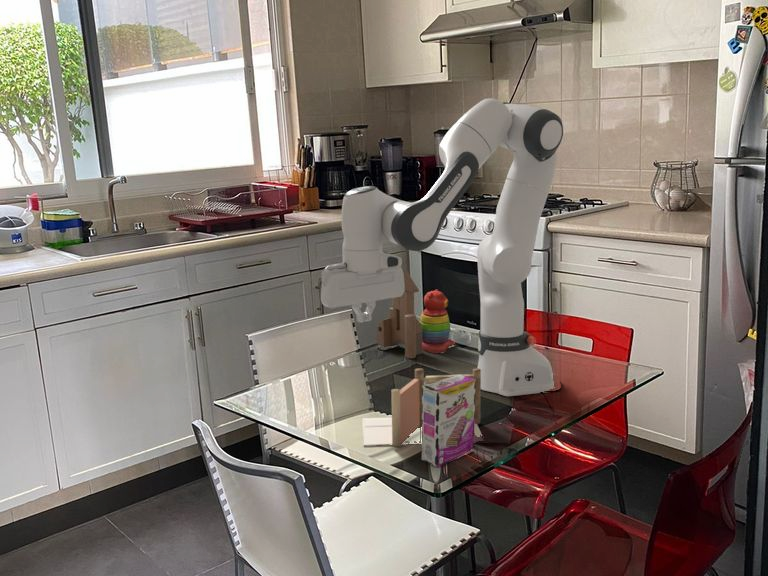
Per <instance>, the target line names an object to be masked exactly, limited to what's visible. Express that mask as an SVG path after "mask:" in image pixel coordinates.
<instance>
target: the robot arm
mask: <svg viewBox="0 0 768 576" xmlns="http://www.w3.org/2000/svg"><path fill="white" fill-rule="evenodd" d="M563 136H564V125H563V121H562V118H561V117H560V116H559V115H558V114H556V113H555V112H553V111H551V110H549V109H546V108H545V109H544V108H540V107H537V106H533V105H529V104H525V103H524V104H519V103H511V102H508V101H507V102H505V101H504V102H503V101H500V100H499V99H496V98H491V97H489V98H485V99H482V100H481V101H479V102H477V103H476V104H475V105H473V106H472V107H471V108H470V109H469V110H468V111H466V112H465V113H464V114H463V115H462V116H461V117H460V118H459V119H458V120H457V121H456V122H455V123H454V124H453V125H452V126H451V127H450V128H449V130H448V131H447V132H446V133H445V135H443V137H442V139H441V141H440V142H439V144H438V145H439V146H438V154H439V158H440V162H441V163H442V165H443V166H444V170H443V173H442V174H441V175H440V177H438V179H437V180H436V182H435V183H434V184H433V186H431V188H430V190H429V191H428V192H427V193H426V195H424V197H422V198H421V199H420V200H417V201H413V202H411V201H405V200H402V199H398V198H396V197H393V196H391V195H388V194H387V193H385V192H383V191H381V190H379V188H378V187H377V186H373V185H369V186H360V187H355V188H352V189H351V190H350V189H349V191H347V192H345V194H344V196H343V199H342V203H341V204H342V205H341V230H342V234H343V241H342V246H341V247H342V249H341V250H342V263H337V264H329V265H327V266H326V267H325V268H323V269H322V271H321V274H320V276H321V277H320V278H321V279H320V280H321V288H320V289H321V290H320V302H321V304H322V305H323V306H324V307H327V308H329V309H334V308H338V307H339V308H341V307H346V306H351V308H352V310H353V311H354V312H355V315H356V316H355V317H356V322H357V323H364V322H365V323H366V322H371V321H372V314H373V312H374V310H375V307H376V302H377V301H382V300H388V299H389V300H390V299H392V298H395V297H401V296H402V295H403V293H404V274H403V270H402V269H403V268H402V267H401V266H402V264H403V260H402V257H400V256H399V255H398V256H397V255H395V254H391V253H388V252H386V251H383V243H385V242H391V243H392V244H396V245H399V246H401V247H402V248H404V249H406V250H409V251H412V252H420V251H424V250H426V249H427V248H430V247H431V246H432V245H433V244H434V243H435V242H436V240H437V238H438V236H439V234H440V231H441V229H442V226H443V224H444V222H445V220H446V218H447V217H448V215H449V214H450V212H451V211H452V209H453V208H455V206H456V205H457V203H458V202H459V200H460V199H461V198H462V197H463V195H464V194H465V193H466V191H467V190H468V189H469V187H470V186H471V185H472V183H473V182H474V180H475V178H477V177H476V176H477V175H478V173H479V170H480V169H481V168H482V167H483V165H484V164H485V163H486V162H487V160H488V159H489V158H490V157H491V156H492V155H493V153H495V151H496V150H497V149H498V147H501V148H503V149H506V150H509V151H513V161H512V163H511V165H510V167H509V170H508V172H507V176H506V179H505V182H504V185H503V188H502V190H501V194H500V196H499V199H498V202H497V206H496V210H495V220H494V225H493V231H492V234H489V235H487V236H486V237H484V238H483V239H482V240H481V241H480V242H479V244H478V247H477V251H476V252H477V253H476V255H477V258H476V260H477V271H478V272H477V275H478V289H479V299H480V327H479V328H480V329H479V330H478V337H477V342H478V343H477V350H478V351H477V352H478V362H477V368H478V369H481V391H485V392H489V393H490V392H491V393H494V394H498V395H502V396H505V397H514V396H515V397H516V396H523V395H524V396H525V395H532V394H541V393H540V392H543V393H545V392H544V391H548V390H550V389H553V388H555V387H554V381H553V374H554V373H553V369H552V364H551V362H550V360H549V359H548V358H547V357H546V356H545V355H543V354H542V353H541V352H539V351H538V350H537V349H535V348H534V347H533V346H534V345H535V344H537V339H536V338H535V337H534V336H533V335H531V334H530V333H528V332H527V331H526V330H525V331H524V327H525V326H524V324H525V322H524V319H525V317H524V315H525V301H524V297H523V296H524V295H523V290H522V283H523V282H524V281H525V280H526V279H528V277H529V275H530V274H531V270H532V259H533V254H534V250H535V247H536V246H535V244H536V240H537V233H538V228H539V224H540V221H541V217H542V215H543V210H544V207H545V205H546V202H547V199H548V196H549V193H550V190H551V186H552V183H553V180H554V176H555V170H556V164H557V158H558V157H557V152H556V151H557V150H558V149H559V147H560V144H561V143H562V140H563ZM363 304H365V305H367V306H366V308H365V311H364V312H362V310H361V309H362V308H363V306H362V305H363Z"/></svg>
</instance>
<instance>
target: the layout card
mask: <svg viewBox="0 0 768 576" xmlns="http://www.w3.org/2000/svg"><path fill="white" fill-rule="evenodd" d="M361 422H362V424H361V425H362V438H363V447H365V448H367V447H377V446H376V445H390V444H392V416H390V417H368V418H367V417H366V418H365V417H364V418H361ZM421 427H422V426H419V427H418V428H420V441H419V443H421ZM474 433H475V435H476V436H477V437H480V435H481V436H483V434H482V432H481V430H480V428H479V424H475V423H474ZM409 437H410V436H408V437H407V438H409ZM407 438H406V439H407ZM406 439H405V440H406ZM405 440H404V441H405ZM404 441H403V442H404ZM403 442H402V443H403ZM402 443H401V444H402ZM405 443H408V444H409V443H410V442H409V441H405ZM414 443H417V442H416V441H414Z"/></svg>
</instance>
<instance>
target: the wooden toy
mask: <svg viewBox="0 0 768 576" xmlns="http://www.w3.org/2000/svg"><path fill="white" fill-rule="evenodd" d="M401 269H402V270H403V274H404V293H403V295H402V296H401V297H395V298H391V301H392V302H391V303H392V305H391V306H390V307H389V309H388V313H389V314H388V315H389V318H385V319H382V320H380V321H378V323H377V325H376V345H377V344H378V345H379V344H380V345H381V346H383V347H386V346H387V347H388V346H394V345H398V344H400V343H402V344H403V345H404V348H405V349H404V356H406V357H407V358H406V357H405V358H406V359H409V358H410V359H409V360H411V359H415V358H416V357H417V356H418V355H423V349H422V324H421V323H420V321H419V320H418V319H417V316H416V314H415V293H418V292H420V290H419V287H418V286H417V285H416V283H415V281H414V280H413V279H412V276H411V275H410V274H409V272H408V271H407V269H405V268H401Z"/></svg>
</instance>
